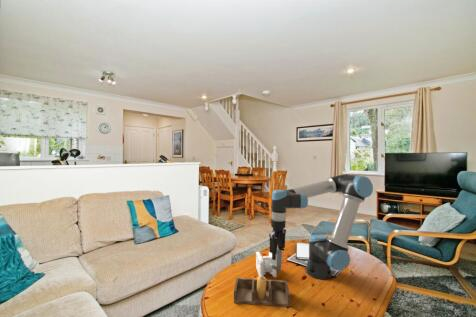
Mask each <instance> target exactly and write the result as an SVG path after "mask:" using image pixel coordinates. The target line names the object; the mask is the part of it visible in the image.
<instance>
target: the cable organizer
mask: <svg viewBox="0 0 476 317" xmlns="http://www.w3.org/2000/svg"><path fill="white" fill-rule="evenodd" d="M255 261H256V262H255V268H256V271H257V274H258V277H259V276H261V275H262V276H264V275H266V273H269V275H272V277H273V278H277V274H278V273H277V271H278V270H274V269H273V268H272V253H270V252H269V251H268V255H264V256H262V254H261V251H255Z"/></svg>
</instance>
